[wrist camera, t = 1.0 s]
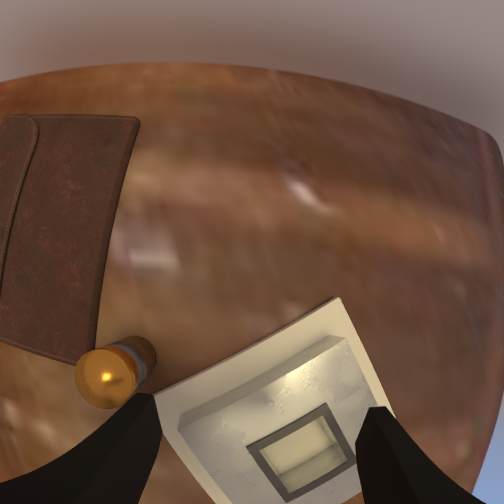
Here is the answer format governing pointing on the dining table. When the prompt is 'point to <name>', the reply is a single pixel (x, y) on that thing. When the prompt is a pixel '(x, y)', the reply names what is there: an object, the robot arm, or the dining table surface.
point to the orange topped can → (114, 371)
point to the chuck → (285, 428)
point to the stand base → (250, 366)
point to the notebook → (57, 226)
